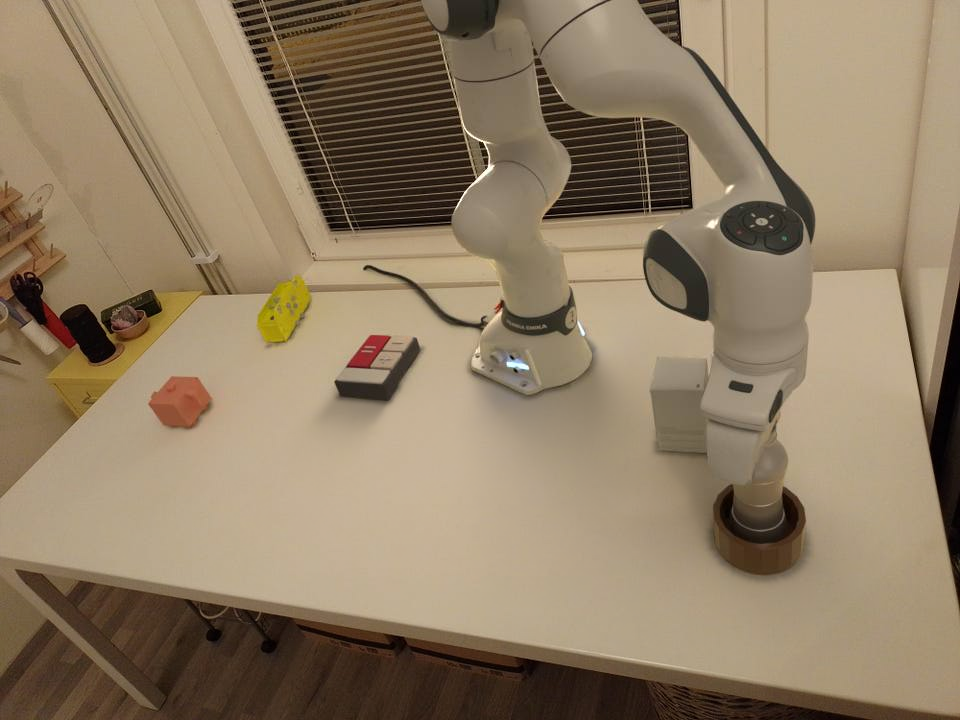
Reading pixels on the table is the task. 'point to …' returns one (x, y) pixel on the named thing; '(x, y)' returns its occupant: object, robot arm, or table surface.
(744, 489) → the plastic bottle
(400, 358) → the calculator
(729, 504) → the cup
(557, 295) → the robot arm
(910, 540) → the table surface
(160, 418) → the pink studded cube
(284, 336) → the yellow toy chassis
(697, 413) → the white packaging box
